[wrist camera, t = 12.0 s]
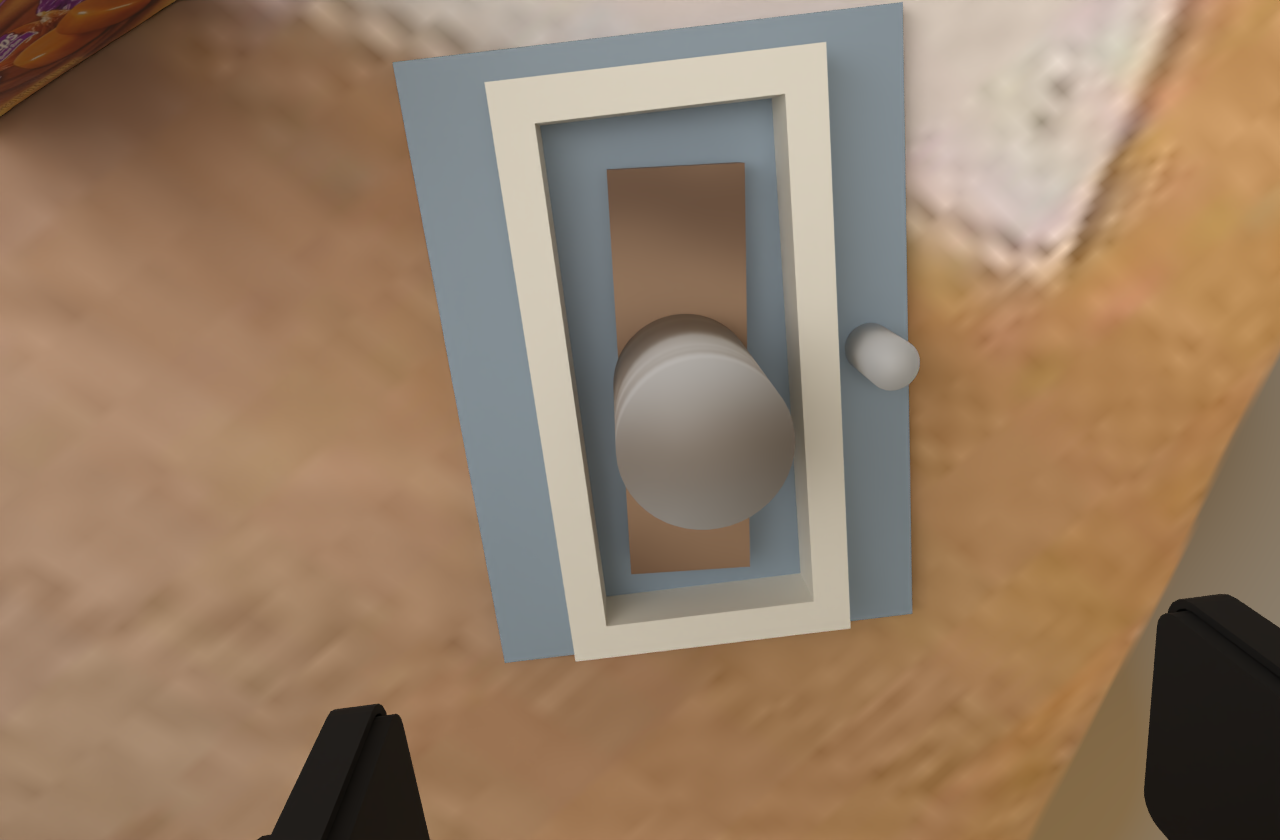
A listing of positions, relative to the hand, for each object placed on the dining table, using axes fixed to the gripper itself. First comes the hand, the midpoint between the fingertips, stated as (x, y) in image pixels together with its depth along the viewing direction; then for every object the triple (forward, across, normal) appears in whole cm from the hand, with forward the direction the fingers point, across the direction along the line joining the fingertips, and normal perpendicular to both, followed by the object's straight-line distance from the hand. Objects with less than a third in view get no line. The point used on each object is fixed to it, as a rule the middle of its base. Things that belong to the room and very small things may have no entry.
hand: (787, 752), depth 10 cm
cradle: (+19, -1, 0) cm, 19 cm away
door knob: (+18, 0, 0) cm, 18 cm away
